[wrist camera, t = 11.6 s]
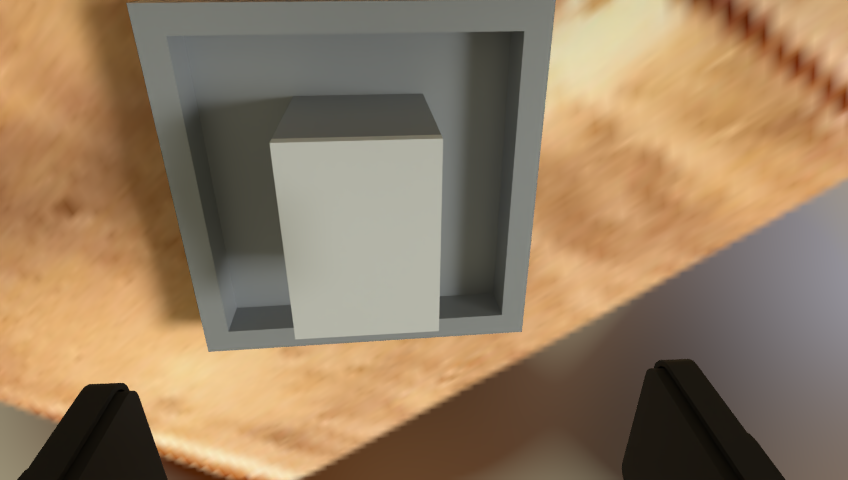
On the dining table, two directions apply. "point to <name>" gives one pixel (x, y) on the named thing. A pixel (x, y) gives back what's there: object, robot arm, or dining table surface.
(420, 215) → the gray block
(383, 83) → the tray
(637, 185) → the dining table surface
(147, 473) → the robot arm
